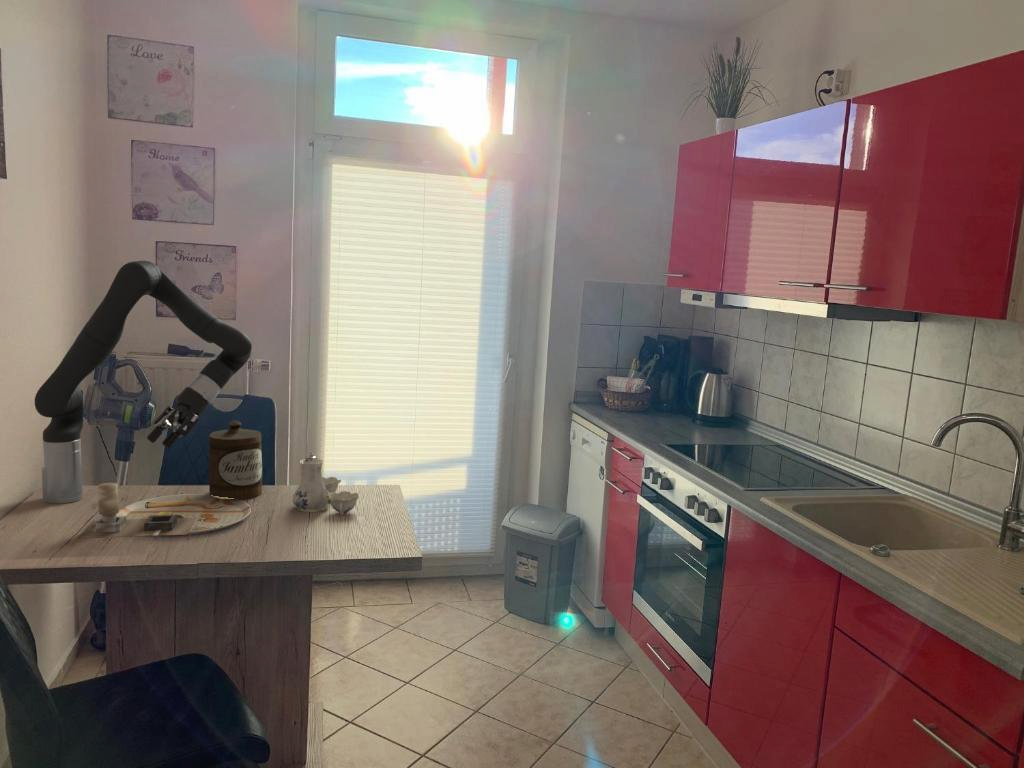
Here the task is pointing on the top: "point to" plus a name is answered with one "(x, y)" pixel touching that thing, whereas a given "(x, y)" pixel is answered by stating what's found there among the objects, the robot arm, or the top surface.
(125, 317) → the robot arm
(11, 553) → the top surface
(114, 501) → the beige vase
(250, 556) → the top surface
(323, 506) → the chinaware
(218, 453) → the wooden container
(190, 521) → the subfloor board
